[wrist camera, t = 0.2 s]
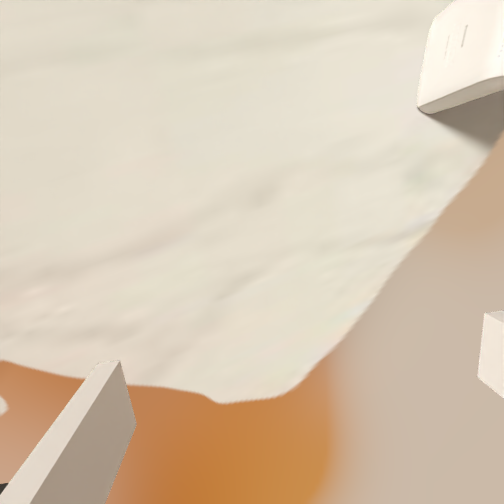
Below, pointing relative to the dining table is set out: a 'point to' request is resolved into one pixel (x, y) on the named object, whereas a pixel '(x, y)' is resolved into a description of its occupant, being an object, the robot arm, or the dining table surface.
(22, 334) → the dining table surface
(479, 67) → the photo printer
